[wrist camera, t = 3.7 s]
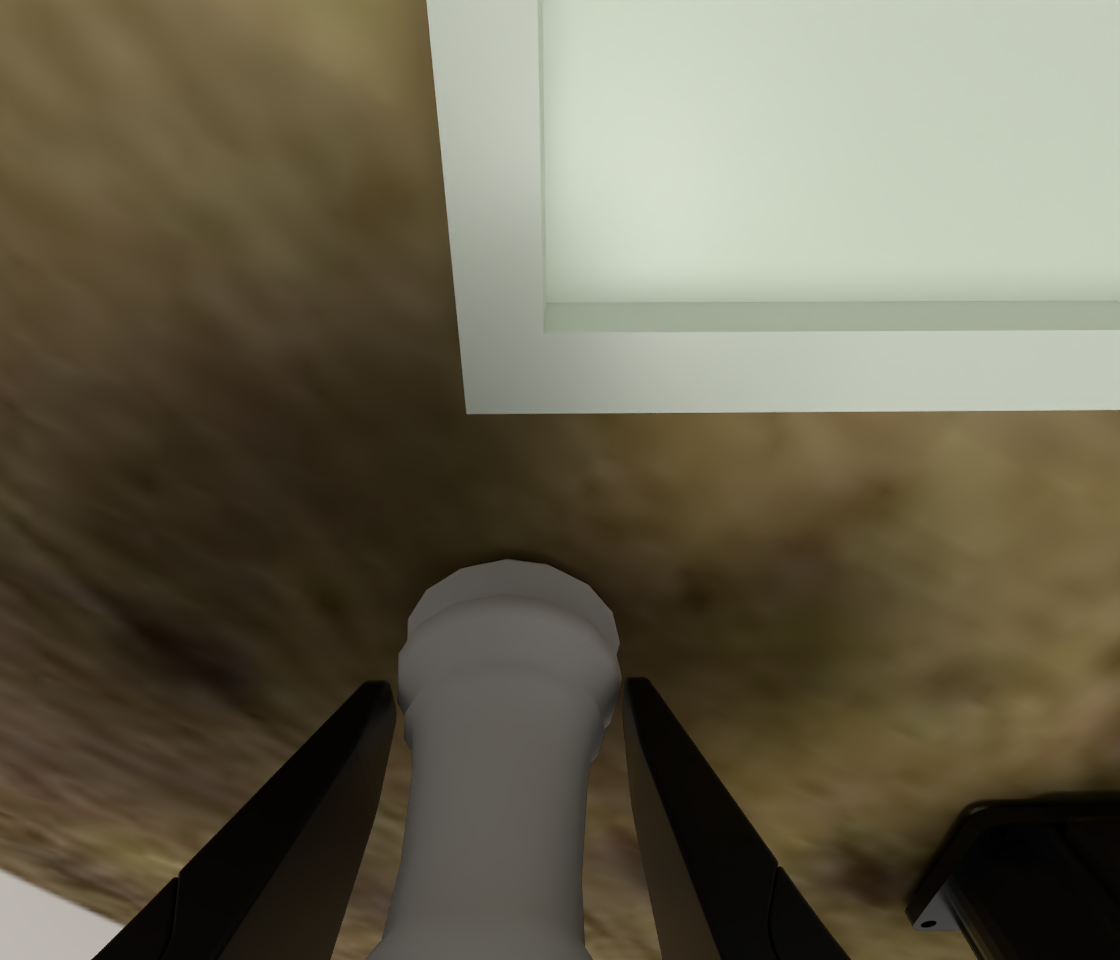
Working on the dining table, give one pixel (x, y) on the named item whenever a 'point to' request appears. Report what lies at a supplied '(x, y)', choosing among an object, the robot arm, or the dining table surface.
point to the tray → (782, 203)
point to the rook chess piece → (500, 763)
